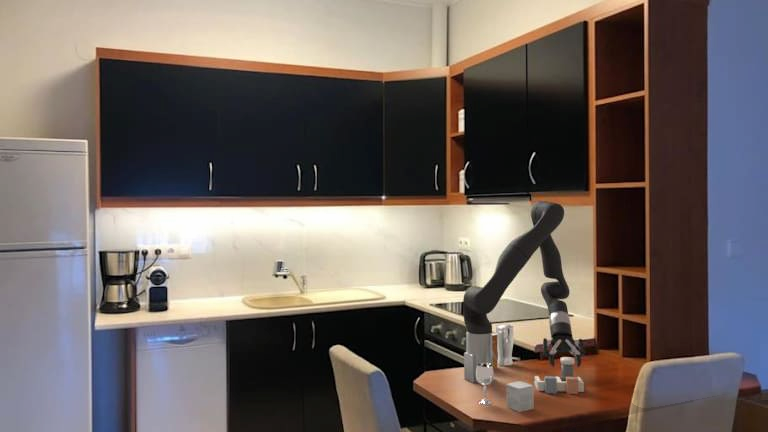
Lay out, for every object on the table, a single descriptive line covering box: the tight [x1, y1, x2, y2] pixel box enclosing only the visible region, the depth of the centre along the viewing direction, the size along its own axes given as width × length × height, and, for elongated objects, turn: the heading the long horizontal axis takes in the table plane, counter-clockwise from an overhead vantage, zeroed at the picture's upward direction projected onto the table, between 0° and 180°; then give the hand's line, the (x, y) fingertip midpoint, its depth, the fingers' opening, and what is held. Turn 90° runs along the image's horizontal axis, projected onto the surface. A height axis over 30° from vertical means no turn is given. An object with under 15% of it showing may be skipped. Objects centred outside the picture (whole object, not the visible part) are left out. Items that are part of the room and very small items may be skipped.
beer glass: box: [495, 323, 515, 367], centre depth 240 cm, size 7×7×15 cm
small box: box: [492, 332, 498, 370], centre depth 236 cm, size 8×6×13 cm
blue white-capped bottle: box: [560, 356, 576, 382], centre depth 210 cm, size 5×5×10 cm
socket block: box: [533, 375, 585, 395], centre depth 209 cm, size 11×15×5 cm
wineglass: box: [476, 363, 495, 405], centre depth 196 cm, size 6×6×12 cm
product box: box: [506, 380, 535, 413], centre depth 190 cm, size 6×6×7 cm
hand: (565, 365), depth 215 cm, fingers open, 8 cm apart
